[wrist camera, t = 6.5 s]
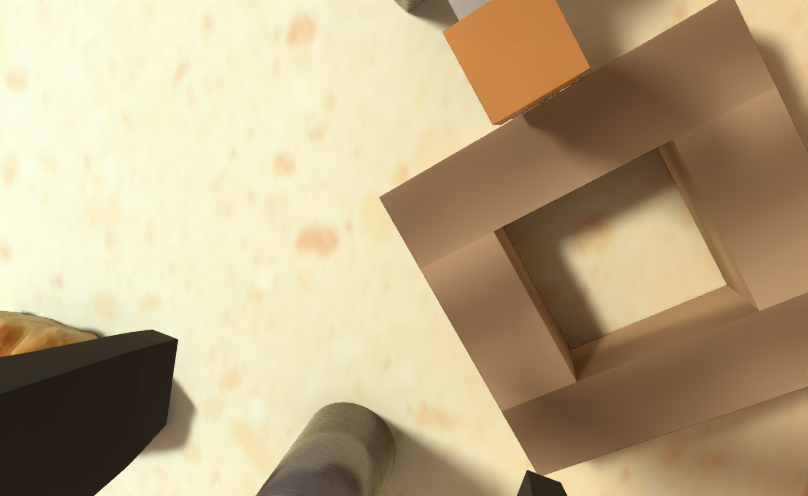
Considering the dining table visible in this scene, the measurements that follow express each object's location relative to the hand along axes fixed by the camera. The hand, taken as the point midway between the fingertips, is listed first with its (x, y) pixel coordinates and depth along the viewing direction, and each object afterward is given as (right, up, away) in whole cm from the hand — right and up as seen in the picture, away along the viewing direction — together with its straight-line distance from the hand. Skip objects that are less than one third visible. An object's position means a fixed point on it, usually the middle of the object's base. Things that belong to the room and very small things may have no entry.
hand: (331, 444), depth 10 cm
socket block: (+9, +4, +8) cm, 12 cm away
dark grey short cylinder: (-1, -5, +12) cm, 13 cm away
